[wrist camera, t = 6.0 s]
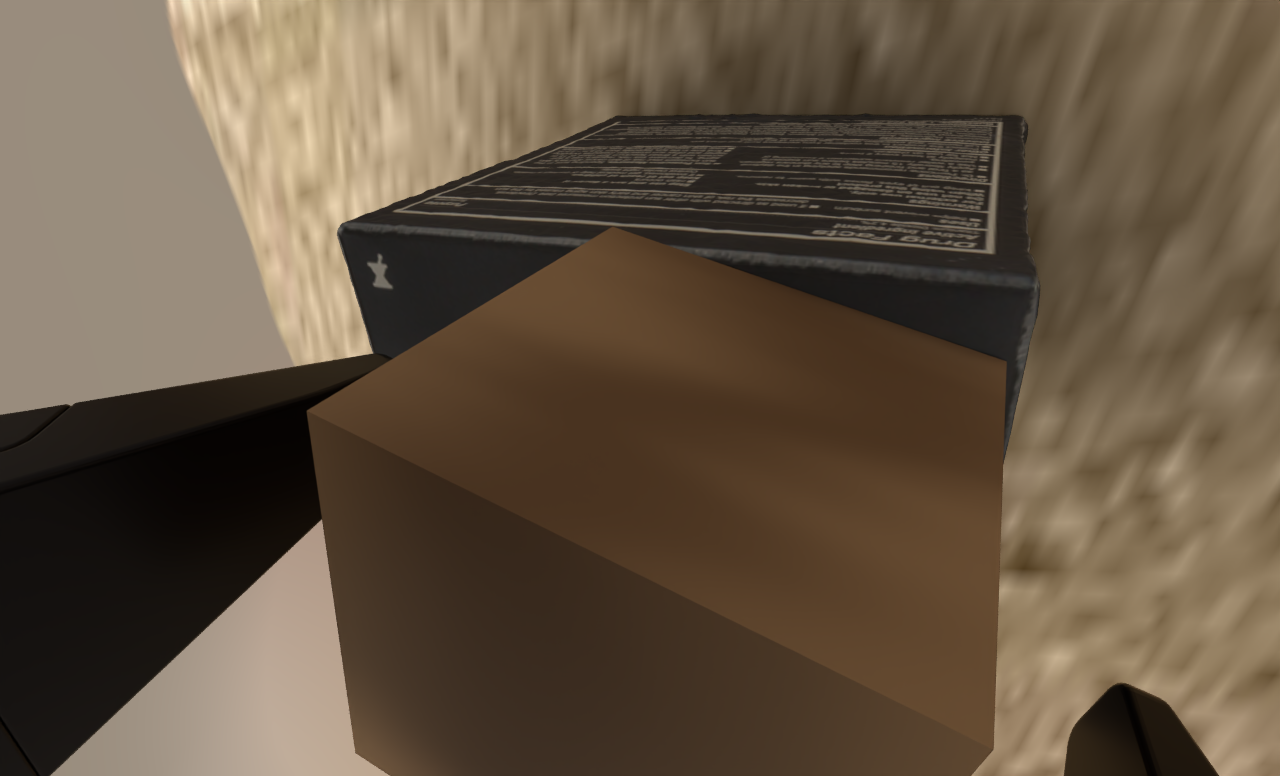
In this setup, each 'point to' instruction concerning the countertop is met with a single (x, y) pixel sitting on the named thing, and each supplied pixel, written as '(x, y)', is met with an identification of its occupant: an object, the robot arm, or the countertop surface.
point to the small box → (735, 221)
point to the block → (667, 533)
